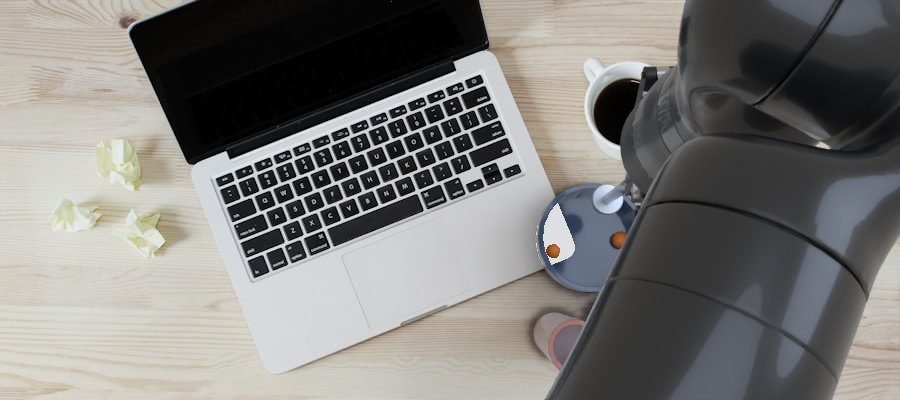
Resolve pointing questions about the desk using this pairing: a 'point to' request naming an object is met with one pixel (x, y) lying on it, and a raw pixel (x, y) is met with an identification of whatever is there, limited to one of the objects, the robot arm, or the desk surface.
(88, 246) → the desk surface
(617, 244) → the bead
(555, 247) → the bead
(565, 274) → the bowl
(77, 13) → the desk surface
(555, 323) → the crock
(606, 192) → the ladle
